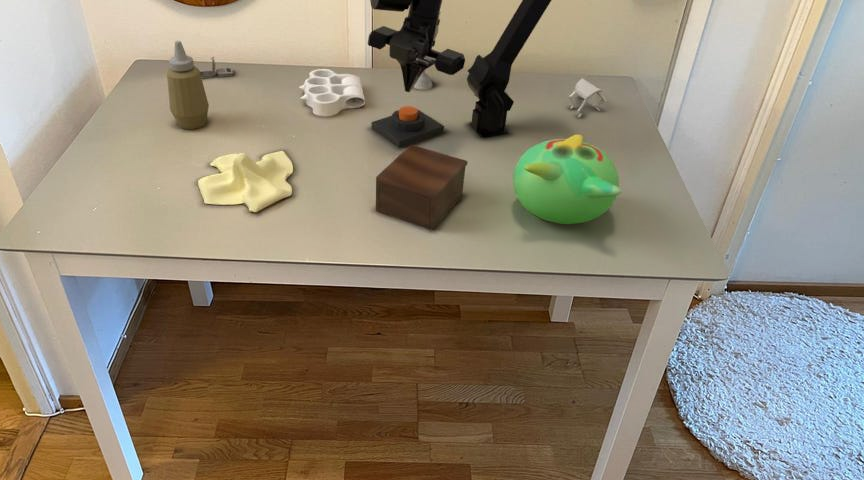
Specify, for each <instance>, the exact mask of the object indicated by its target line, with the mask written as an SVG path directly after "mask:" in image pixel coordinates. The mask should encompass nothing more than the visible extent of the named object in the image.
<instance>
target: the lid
mask: <svg viewBox="0 0 864 480" xmlns="http://www.w3.org/2000/svg"><path fill="white" fill-rule="evenodd" d="M467 166H468V160H465V159H462V158H458V157H456V156H451V155H448V154H446V153H441V152H439V151H435V150H433V149H428V148H425V147H422V146H419V145H418V146H417V145H415V144H410V145H408V146H407V148H406V149H404V151H403V152H402V153H400V154H399V155H398V156H397V157H396V158H395V159H394V160H393V161H391V162H390V163H389V164H388V165H387V166H386V167H385V168H384V169H383V170H382V171H381V172H380V173H379V174H377V176H376V177H375V182H376V181H379V182H382V183H385V184H388V185H391V186H394V187H397V188H401V189H404V190H407V191H410V192H413V193H416V194H419V195H422V196H425V197H428V198H431V199H436V198H437V197H438V196H439V195H440V194H441V193H442V192H443V191H444V190H445V188H446V187H447V186H448V185H449V184H450V183H451V182H452V181H453V180H454V179H455V177H456V176H457V175H458V174H459V173H460V172H461V171H462V170H463V169H464V168H465V169H466V167H467Z"/></svg>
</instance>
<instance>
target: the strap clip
mask: <svg viewBox="0 0 864 480" xmlns="http://www.w3.org/2000/svg"><path fill="white" fill-rule="evenodd" d="M210 59H211V61H212V62H211V63H212V68H211V69H212V70H206V71H200V75H201V78H202V79H211V78H213V77H215V76H217V77H218V78H224V77H231V76H233V75H234V71H233V68H232V67H221V68H217V69H216V61H215V57H214V56H212V57H211V58H210Z"/></svg>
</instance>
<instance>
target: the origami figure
mask: <svg viewBox="0 0 864 480" xmlns="http://www.w3.org/2000/svg"><path fill="white" fill-rule="evenodd" d="M601 92H602V89H600V88H598V87H597V86H595V85H593V84H592V83H591V82H589V81H588V80H586V79H584V77H583V78H580V80H578V82H576V84H575V88H574V90H573V92H572V93H570V95H569V96H568V98H569V100H570V102H571V104H572V105H571V106H570V110H573V108H574V106H575V104H574V101H573V98H572V96H574V95H575V94H577V95H578V96H579V98H581V99H584V100H583V102H582V103H581V105H580V107H578V109H577V112H578V113H579V115H578V116H577V117H578V118H581V117H582V115H583V112H582V109H583V108H584V106H585V104H586V102H587V100H588V99H590V98H591V97H592V96H594V95H595V94H596V95H597V96H598V97H599V99H601V100H598V101H596V102H595V103H593V104H592V107H594V108H595V109H596V110H597V111H599V112H600V111H601V109H600V108H598V107H597V106H599V105H601V104H605V103H607V102H608V100H607V99H606V97H604V95H603V93H601Z"/></svg>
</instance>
